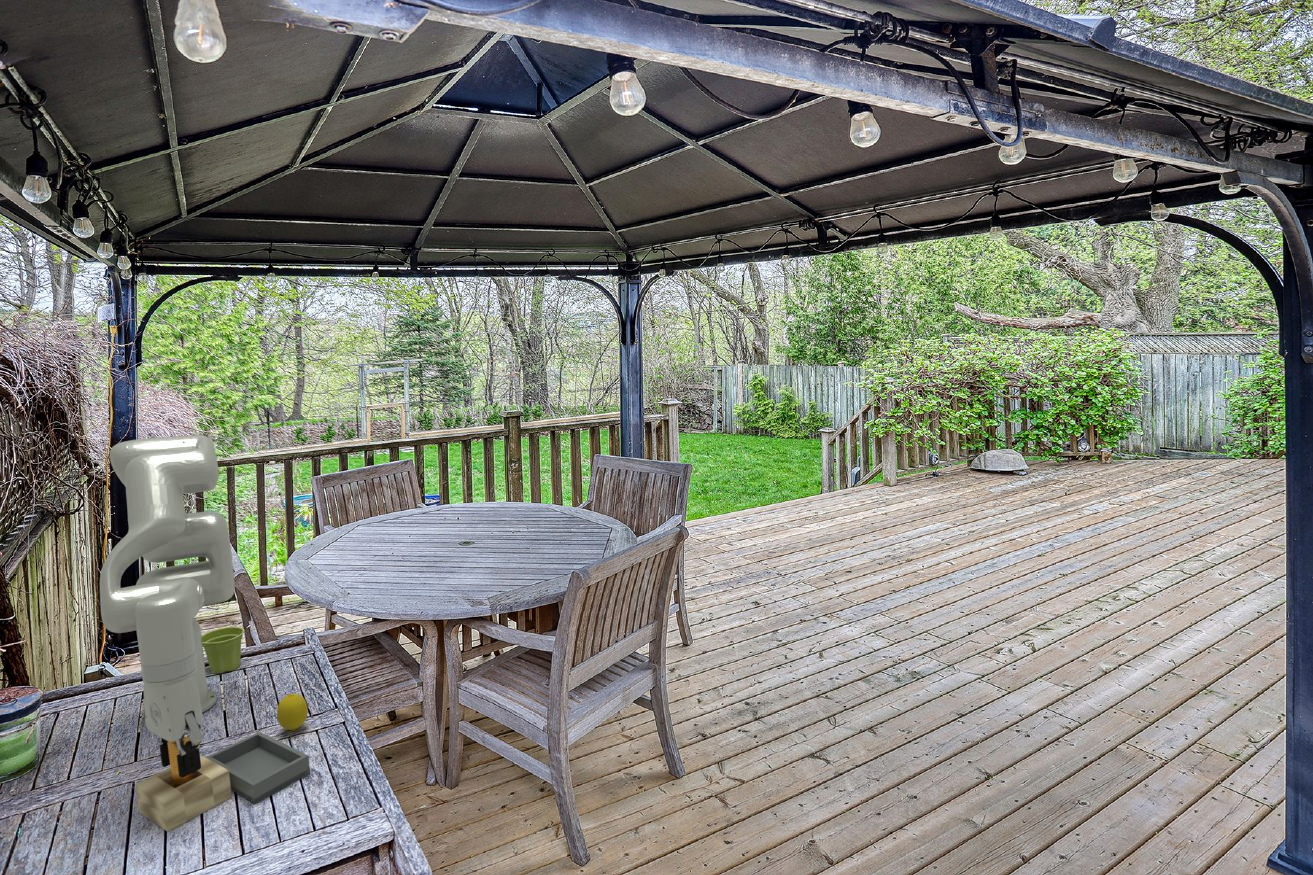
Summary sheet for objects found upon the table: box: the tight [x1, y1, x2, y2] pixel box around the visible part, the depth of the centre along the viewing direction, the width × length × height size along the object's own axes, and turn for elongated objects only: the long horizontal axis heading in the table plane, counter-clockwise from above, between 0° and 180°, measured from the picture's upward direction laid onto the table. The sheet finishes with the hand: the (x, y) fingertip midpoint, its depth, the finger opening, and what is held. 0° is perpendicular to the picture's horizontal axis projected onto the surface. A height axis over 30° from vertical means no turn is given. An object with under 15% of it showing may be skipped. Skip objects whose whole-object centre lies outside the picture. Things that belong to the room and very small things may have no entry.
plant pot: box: [201, 626, 245, 674], centre depth 170 cm, size 9×9×9 cm
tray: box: [206, 731, 311, 805], centre depth 127 cm, size 16×10×4 cm, turn 59°
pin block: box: [134, 754, 233, 832], centre depth 119 cm, size 10×10×5 cm
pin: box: [168, 736, 194, 788], centre depth 119 cm, size 3×3×12 cm
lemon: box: [276, 692, 309, 732], centre depth 142 cm, size 6×6×8 cm
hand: (181, 766), depth 119 cm, fingers open, 5 cm apart
